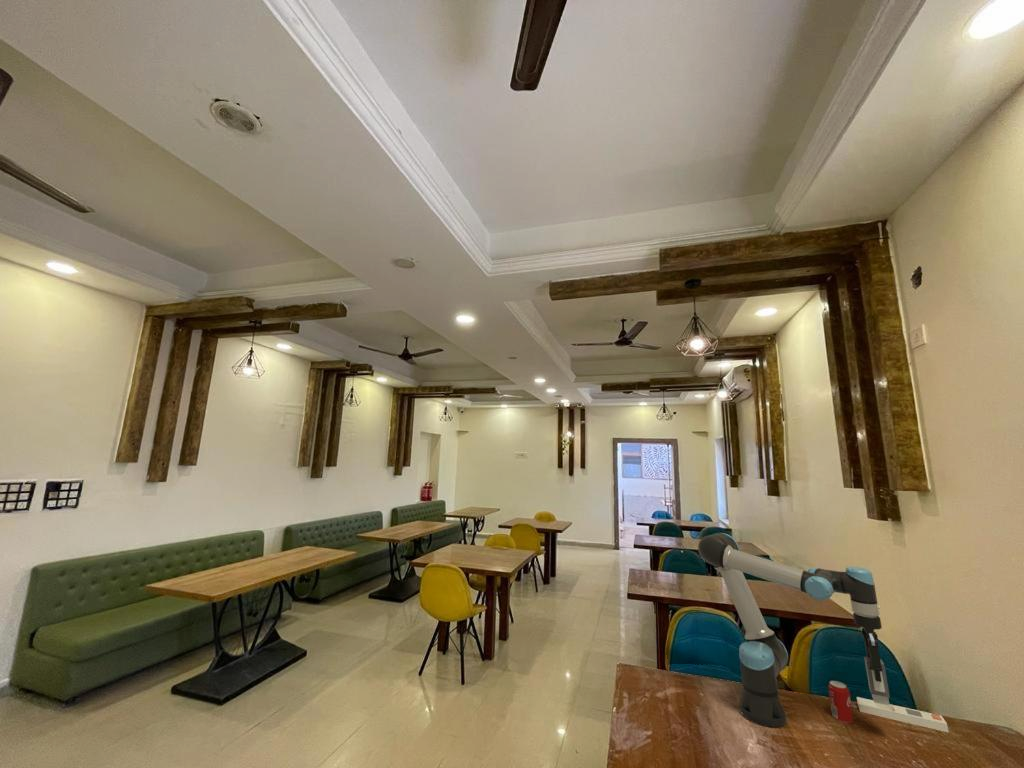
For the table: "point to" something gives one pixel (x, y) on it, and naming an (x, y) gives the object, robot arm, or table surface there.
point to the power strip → (902, 714)
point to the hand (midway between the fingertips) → (878, 687)
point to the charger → (876, 695)
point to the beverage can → (840, 702)
